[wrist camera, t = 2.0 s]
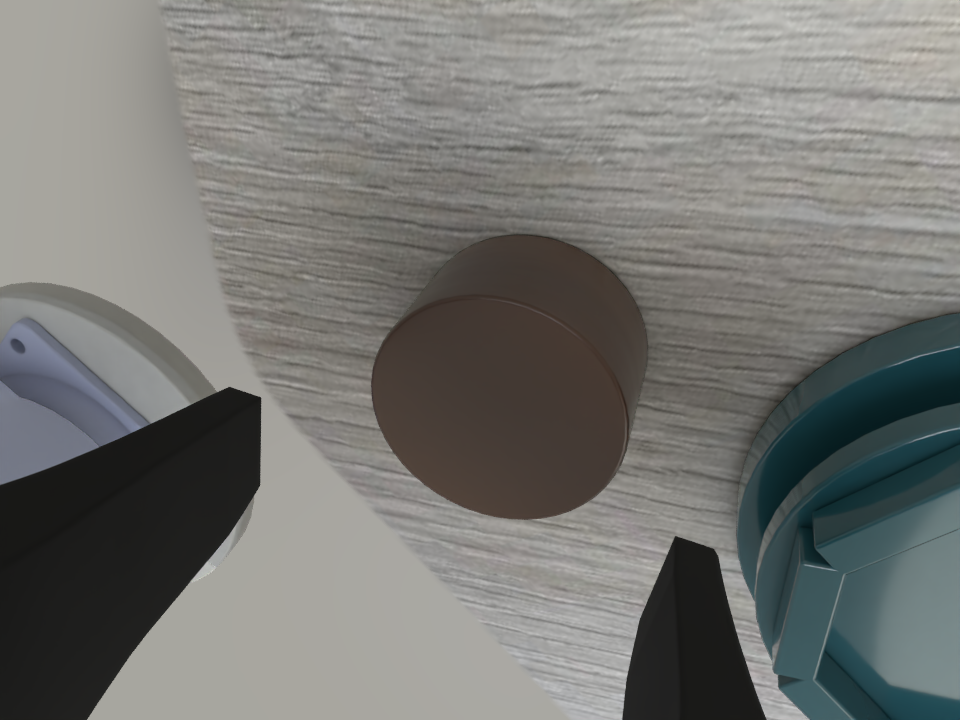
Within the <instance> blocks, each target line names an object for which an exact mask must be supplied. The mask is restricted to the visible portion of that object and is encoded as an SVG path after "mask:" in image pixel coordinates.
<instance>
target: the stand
mask: <svg viewBox="0 0 960 720" xmlns="http://www.w3.org/2000/svg"><path fill="white" fill-rule="evenodd" d="M736 536H737V548H738V558H739V561H740V565H741V569H742V573H743V576H744V579H745V582H746V584H747V586H748V588H749V591H750V593H751V595H752V597H753V599H754V601H755V608H756V619H757V622H758V626H759V630H760V634H761V638H762V640H763V643H764V645H765V647H766V649H767V651H768V654H769V656H770V658H771V660H772V669H773V672H774V673H775V674H776V675H778V687H779V689H780V690H781V691H782V692H783V693H784V694H785V695H786V696H787V697H788V698H789V699H790V700H791V701H792V702H793V703H794V704H795V705H796V706H797V707H798V708H799V709H800V710H801V711H802V712H803V713H804V714H805V715H806V716H807V717H808V718H809V719H810V720H960V313H955V314H949V315H944V316H940V317H937V318H933V319H929V320H925V321H921V322H917V323H913V324H909V325H907V326H904V327H901V328H899V329H896V330H893V331H890V332H888V333H885V334H882V335H880V336H877V337H874V338H872V339H870V340H868V341H866V342H864V343H862V344H860V345H858V346H856V347H854V348H852V349H850V350H848V351H846V352H844V353H842V354H841V355H839V356H838V357H836V358H835V359H833V360H832V361H830V362H828V363H827V364H825V365H824V366H822V367H821V368H819V369H818V370H816V371H815V372H813V373H812V374H811V375H810V376H809V377H808V378H806V379H805V380H804V381H803V382H802V383H800V384H799V385H798V386H797V387H796V388H794V389H793V390H792V391H791V392H790V393H789V394H788V395H787V396H786V397H785V399H784V400H783V401H782V402H781V403H780V404H779V405H778V406H777V407H776V409H775V410H774V411H773V412H772V413H771V414H770V416H769V417H768V419H767V420H766V422H765V423H764V425H763V426H762V428H761V429H760V431H759V432H758V434H757V435H756V437H755V440H754V442H753V444H752V446H751V448H750V450H749V452H748V455H747V457H746V460H745V463H744V467H743V471H742V474H741V478H740V484H739V495H738V508H737V530H736Z"/></svg>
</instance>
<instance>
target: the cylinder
mask: <svg viewBox="0 0 960 720" xmlns="http://www.w3.org/2000/svg"><path fill="white" fill-rule="evenodd" d="M647 359H648V344H647V336H646V330H645V327H644V323H643V320H642V317H641V315H640V312H639V310H638V308H637V306H636V303H635V302H634V300H633V299H632V297H631V295H630V294H629V292H628V291H627V289H626V288H625V287H624V286H623V284H622V283H621V282H620V281H619V279H618V278H617V277H616V276H615V275H614V274H613V273H612V272H610V271H609V270H608V269H607V268H606V267H605V266H604V265H602V264H601V263H600V262H598V261H597V260H596V259H594V258H593V257H592V256H590V255H588V254H586V253H585V252H583V251H581V250H579V249H577V248H575V247H572V246H570V245H568V244H565V243H563V242H559V241H556V240H552V239H549V238H543V237H537V236H528V235H511V236H501V237H496V238H492V239H488V240H484V241H482V242H479V243H476V244H474V245H471V246H470V247H468V248H466V249H464V250H463V251H461V252H459V253H458V254H457V255H455V256H454V257H453V258H451V259H450V260H449V261H448V262H447V263H446V264H445V265H444V266H443V267H442V268H441V269H440V270H439V272H438V273H437V274H436V275H435V276H434V278H433V279H432V280H431V281H430V283H429V284H428V285H427V286H426V287H425V289H424V290H423V291H422V292H421V294H420V295H419V296H418V297H417V299H416V300H415V301H414V302H413V303H412V305H411V306H410V307H409V308H408V310H407V311H406V312H405V313H404V314H403V316H402V317H401V318H400V319H399V321H398V322H397V323H396V324H395V326H394V327H393V328H392V329H391V330H390V332H389V333H388V335H387V336H386V338H385V339H384V341H383V342H382V344H381V346H380V349H379V351H378V353H377V355H376V359H375V362H374V366H373V372H372V381H371V388H372V401H373V407H374V412H375V415H376V418H377V421H378V424H379V427H380V429H381V431H382V433H383V435H384V438H385V439H386V441H387V443H388V444H389V446H390V448H391V449H392V451H393V452H394V454H395V455H396V456H397V457H398V459H399V460H400V461H401V463H402V464H403V465H404V466H405V467H406V468H407V469H408V470H409V471H410V472H411V473H412V474H413V475H414V476H415V477H416V478H417V479H419V480H420V481H421V482H422V483H423V484H424V485H426V486H427V487H429V488H430V489H431V490H433V491H434V492H436V493H437V494H439V495H440V496H442V497H444V498H446V499H447V500H449V501H451V502H453V503H455V504H458V505H460V506H462V507H464V508H467V509H469V510H472V511H475V512H478V513H481V514H486V515H490V516H494V517H500V518H507V519H524V520H528V519H541V518H547V517H552V516H557V515H560V514H563V513H566V512H569V511H571V510H573V509H576V508H578V507H580V506H582V505H584V504H585V503H587V502H588V501H590V500H591V499H593V498H594V497H595V496H597V495H598V494H599V493H600V492H601V491H602V490H603V489H604V488H605V487H606V486H607V485H608V484H609V483H610V481H611V480H612V479H613V478H614V476H615V475H616V473H617V471H618V469H619V468H620V466H621V464H622V462H623V459H624V456H625V453H626V450H627V446H628V442H629V438H630V434H631V430H632V425H633V421H634V417H635V413H636V409H637V405H638V401H639V396H640V392H641V388H642V384H643V380H644V376H645V371H646V365H647Z"/></svg>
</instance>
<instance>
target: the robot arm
mask: <svg viewBox="0 0 960 720" xmlns="http://www.w3.org/2000/svg"><path fill="white" fill-rule="evenodd" d="M260 450H261V397H258V396H255V395H252V394H249V393H246V392H243V391H240V390H237V389H234V388H231V387H228V388H226V389H224V390H221V391H219V392H217V393H215V394H213V395H210V396H208V397H206V398H204V399H202V400H200V401H198V402H196V403H194V404H192V405H190V406H188V407H186V408H183V409H181V410H179V411H177V412H175V413H173V414H171V415H169V416H167V417H165V418H163V419H161V420H158V421H156V422H154V423H152V424H150V423H149V422H148V421H147V420H145V419H144V418H143V417H142V416H141V415H140V414H139V413H138V412H137V411H135V410H134V409H133V408H132V407H131V406H130V405H129V404H128V403H126V402H125V401H124V400H123V399H122V398H121V397H120V396H119V395H117V394H116V393H115V392H114V391H113V390H112V389H111V388H110V387H109V386H107V385H106V384H105V383H104V382H103V381H102V380H101V379H100V378H98V377H97V376H96V375H95V374H94V373H93V372H92V371H91V370H90V369H88V368H87V367H86V366H85V365H84V364H83V363H82V362H81V361H79V360H78V359H77V358H76V357H75V356H74V355H73V354H72V353H71V352H69V351H68V350H67V349H66V348H65V347H64V346H63V345H62V344H60V343H59V342H58V341H57V340H56V339H55V338H54V337H53V336H52V335H50V334H49V333H48V332H47V331H46V330H45V329H44V328H43V327H41V326H40V325H39V324H38V323H37V322H35V321H34V320H31V319H28V318H22V319H20V320H19V321H17V322H16V323H14V324H13V325H12V326H11V327H10V329H9V330H8V332H7V334H6V335H5V337H4V338H3V340H2V341H1V343H0V720H87V719H88V717H89V716H90V714H91V713H92V711H93V710H94V708H95V706H96V705H97V703H98V702H99V700H100V699H101V698H102V696H103V695H104V693H105V692H106V690H107V689H108V687H109V686H110V684H111V683H112V681H113V680H114V678H115V677H116V675H117V674H118V673H119V671H120V670H121V668H122V667H123V665H124V664H125V662H126V661H127V659H128V658H129V656H130V655H131V654H132V652H133V651H134V650H135V649H136V647H137V646H138V645H139V643H140V642H141V641H142V639H143V638H144V637H145V636H146V634H147V633H148V632H149V630H150V629H151V628H152V627H153V626H154V625H155V623H156V622H157V621H158V620H159V619H160V617H161V616H162V615H163V614H164V613H165V611H166V610H167V609H168V608H169V607H170V605H171V604H172V603H173V602H174V601H175V599H176V598H177V597H178V596H179V595H180V593H181V592H182V591H183V590H184V589H185V587H186V586H187V585H188V584H189V583H190V582H191V580H192V579H193V578H194V577H195V576H196V574H197V573H198V572H199V571H200V570H201V568H202V567H203V566H204V565H205V564H206V562H207V561H208V560H209V559H210V557H211V556H212V555H213V554H214V553H215V551H216V550H217V549H218V548H219V547H220V545H221V544H222V543H223V542H224V540H225V539H226V538H227V537H228V535H229V534H230V533H231V531H232V530H233V528H234V527H235V525H236V523H237V522H238V520H239V519H240V517H241V516H242V514H243V513H244V511H245V509H246V508H247V506H248V505H249V503H250V501H251V500H252V498H253V496H254V495H255V493H256V491H257V490H258V488H259V486H260V452H261V451H260ZM622 720H766V717H765V715H764V712H763V710H762V707H761V705H760V702H759V699H758V696H757V694H756V691H755V688H754V685H753V683H752V680H751V677H750V674H749V670H748V667H747V664H746V661H745V658H744V655H743V652H742V649H741V646H740V643H739V639H738V636H737V633H736V629H735V626H734V622H733V619H732V615H731V611H730V607H729V604H728V600H727V596H726V592H725V587H724V583H723V578H722V574H721V569H720V563H719V558H718V555H717V553H716V552H715V550H714V549H713V548H710V547H707V546H704V545H701V544H698V543H695V542H692V541H689V540H686V539H683V538H680V537H677V536H675V538H674V540H673V543H672V545H671V547H670V550H669V552H668V554H667V557H666V559H665V562H664V564H663V566H662V569H661V571H660V573H659V576H658V578H657V580H656V583H655V585H654V587H653V590H652V592H651V595H650V597H649V599H648V602H647V604H646V606H645V609H644V611H643V613H642V616H641V618H640V621H639V625H638V630H637V634H636V639H635V643H634V648H633V652H632V657H631V662H630V666H629V671H628V676H627V681H626V690H625V700H624V709H623V719H622Z"/></svg>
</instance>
